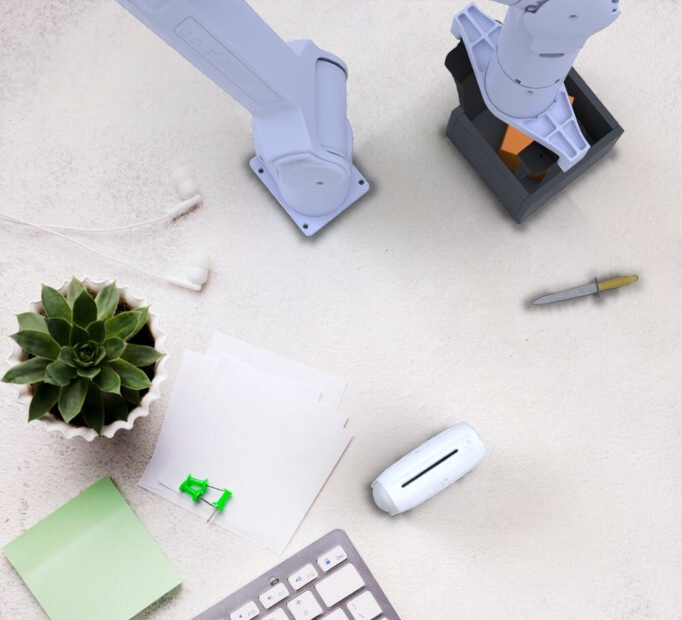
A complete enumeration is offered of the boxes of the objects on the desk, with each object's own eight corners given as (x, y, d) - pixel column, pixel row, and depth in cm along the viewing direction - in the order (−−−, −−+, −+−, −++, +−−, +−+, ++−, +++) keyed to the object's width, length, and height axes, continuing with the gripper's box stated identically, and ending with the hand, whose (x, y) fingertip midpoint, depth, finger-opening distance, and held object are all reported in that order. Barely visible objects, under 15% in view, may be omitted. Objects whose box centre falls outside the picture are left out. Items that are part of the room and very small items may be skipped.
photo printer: (450, 427, 84) (471, 410, 72) (474, 464, 84) (499, 452, 71) (363, 485, 84) (369, 477, 71) (387, 521, 84) (397, 520, 71)
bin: (444, 133, 84) (451, 110, 80) (535, 61, 85) (547, 34, 80) (518, 224, 84) (529, 206, 80) (609, 152, 85) (624, 130, 80)
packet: (493, 165, 84) (500, 149, 80) (516, 98, 84) (524, 79, 81) (541, 181, 84) (550, 166, 80) (564, 115, 84) (574, 97, 81)
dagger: (534, 313, 84) (530, 292, 83) (532, 313, 85) (528, 293, 84) (640, 287, 83) (637, 266, 83) (637, 288, 84) (634, 267, 84)
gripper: (641, 93, 61) (585, 172, 75) (515, -63, 62) (482, 44, 75) (566, 153, 61) (523, 221, 75) (439, -3, 61) (420, 93, 75)
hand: (498, 136), depth 75 cm, fingers open, 7 cm apart
